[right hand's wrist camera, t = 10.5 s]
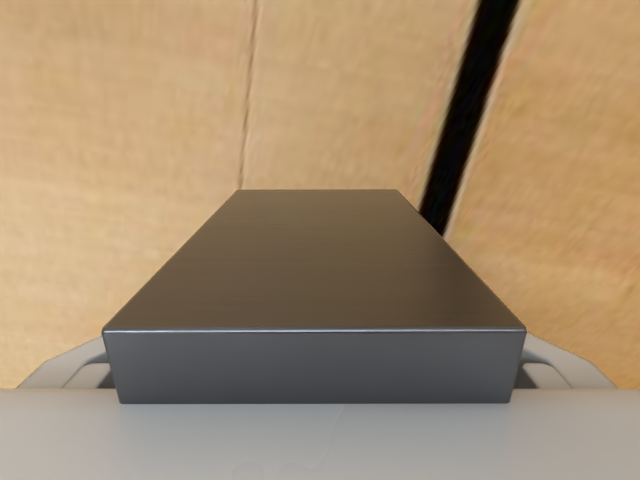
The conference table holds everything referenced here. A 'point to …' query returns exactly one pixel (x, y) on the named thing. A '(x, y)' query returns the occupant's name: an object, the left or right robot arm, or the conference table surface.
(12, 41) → the conference table surface
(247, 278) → the bar
